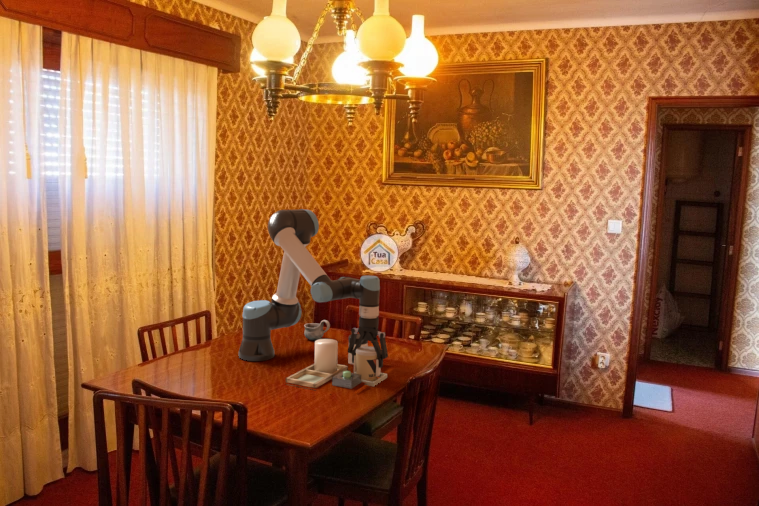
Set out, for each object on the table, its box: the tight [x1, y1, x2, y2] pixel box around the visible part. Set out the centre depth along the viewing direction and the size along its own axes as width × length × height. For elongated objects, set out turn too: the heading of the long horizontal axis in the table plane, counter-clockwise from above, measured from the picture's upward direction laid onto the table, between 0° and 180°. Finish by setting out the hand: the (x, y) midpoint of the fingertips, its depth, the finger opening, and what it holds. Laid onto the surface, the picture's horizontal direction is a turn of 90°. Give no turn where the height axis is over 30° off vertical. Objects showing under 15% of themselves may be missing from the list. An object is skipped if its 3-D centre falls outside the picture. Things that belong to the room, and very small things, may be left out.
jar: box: [347, 333, 369, 365], centre depth 253 cm, size 9×8×12 cm
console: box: [331, 371, 362, 390], centre depth 226 cm, size 8×8×4 cm
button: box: [343, 370, 352, 378], centre depth 226 cm, size 3×3×4 cm
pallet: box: [285, 363, 349, 392], centre depth 235 cm, size 13×25×2 cm, turn 155°
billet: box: [313, 338, 339, 374], centre depth 239 cm, size 9×9×12 cm
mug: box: [303, 319, 331, 341], centre depth 289 cm, size 10×12×10 cm
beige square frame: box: [353, 371, 388, 387], centre depth 235 cm, size 12×12×2 cm
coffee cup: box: [356, 345, 378, 382], centre depth 235 cm, size 9×9×12 cm
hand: (366, 373), depth 235 cm, fingers closed on coffee cup, 9 cm apart
